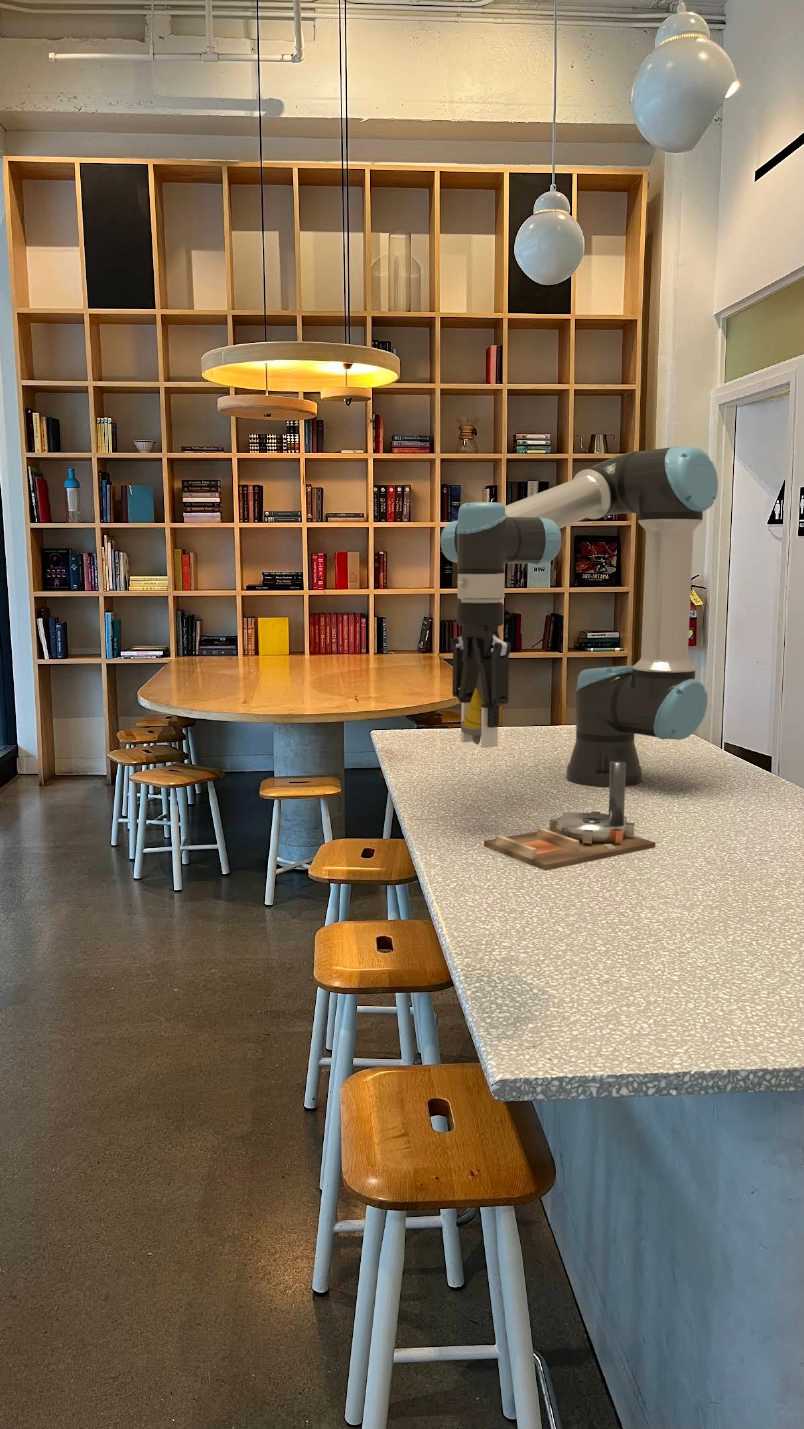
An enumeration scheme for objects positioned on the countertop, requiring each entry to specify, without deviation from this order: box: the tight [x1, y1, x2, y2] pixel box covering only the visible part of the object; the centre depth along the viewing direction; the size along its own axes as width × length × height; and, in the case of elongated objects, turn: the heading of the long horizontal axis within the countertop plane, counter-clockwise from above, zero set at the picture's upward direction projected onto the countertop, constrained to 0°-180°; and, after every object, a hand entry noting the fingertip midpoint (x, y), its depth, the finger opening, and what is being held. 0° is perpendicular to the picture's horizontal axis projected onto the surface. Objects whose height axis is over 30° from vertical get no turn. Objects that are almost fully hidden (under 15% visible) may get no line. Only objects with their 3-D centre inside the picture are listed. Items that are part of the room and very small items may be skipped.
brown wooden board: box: [483, 827, 656, 871], centre depth 159 cm, size 15×22×2 cm
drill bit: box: [460, 687, 484, 745], centre depth 165 cm, size 5×5×10 cm
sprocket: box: [549, 761, 635, 843], centre depth 162 cm, size 13×13×12 cm
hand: (479, 743), depth 167 cm, fingers closed on drill bit, 5 cm apart
